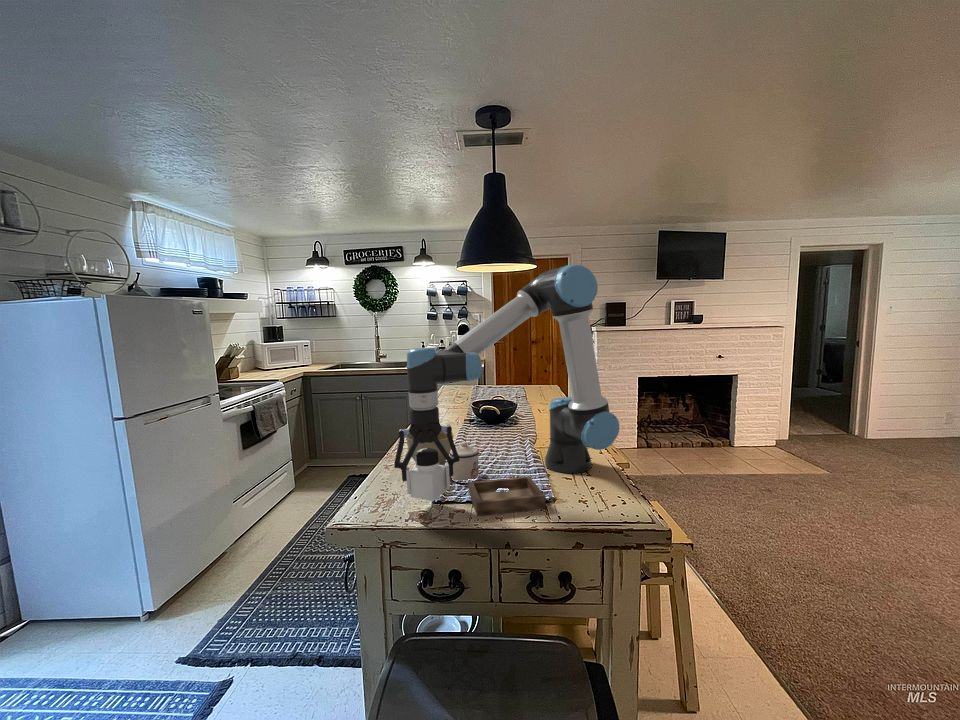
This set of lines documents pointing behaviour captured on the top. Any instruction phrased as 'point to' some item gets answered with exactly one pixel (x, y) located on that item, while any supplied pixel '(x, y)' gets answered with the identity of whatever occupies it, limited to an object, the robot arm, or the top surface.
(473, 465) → the teacup with lid
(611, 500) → the top surface
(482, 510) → the holder tray
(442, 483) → the medicine bottle
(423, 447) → the planter bowl
